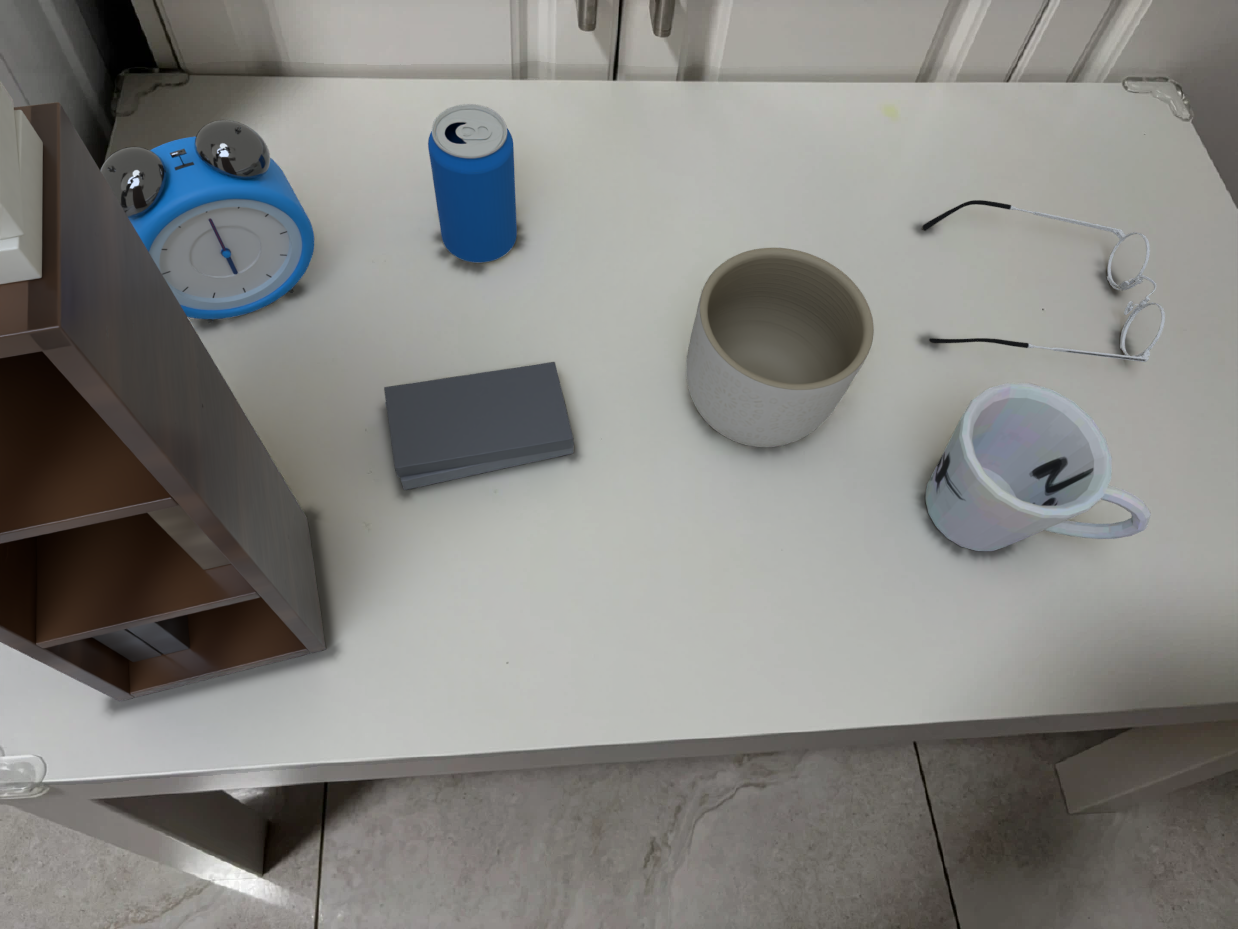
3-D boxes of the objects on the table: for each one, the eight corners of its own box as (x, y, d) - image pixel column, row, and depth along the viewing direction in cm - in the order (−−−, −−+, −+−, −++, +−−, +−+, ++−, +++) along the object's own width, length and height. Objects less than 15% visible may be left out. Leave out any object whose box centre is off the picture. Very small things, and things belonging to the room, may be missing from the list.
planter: (840, 360, 72) (887, 275, 62) (811, 485, 66) (857, 413, 57) (699, 317, 73) (723, 227, 63) (658, 437, 67) (678, 357, 58)
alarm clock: (174, 345, 68) (85, 207, 54) (150, 289, 70) (58, 144, 57) (333, 286, 71) (285, 144, 58) (305, 235, 74) (254, 87, 60)
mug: (926, 428, 70) (982, 358, 61) (1105, 505, 68) (1189, 444, 59) (889, 533, 65) (944, 474, 56) (1080, 620, 63) (1168, 572, 54)
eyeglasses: (1142, 388, 73) (1180, 354, 69) (928, 356, 73) (952, 320, 69) (1114, 247, 81) (1147, 208, 76) (920, 217, 81) (942, 177, 76)
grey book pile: (402, 495, 63) (396, 476, 61) (385, 408, 66) (378, 387, 64) (576, 456, 66) (578, 437, 63) (552, 375, 69) (552, 354, 66)
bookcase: (119, 701, 55) (-461, 414, 23) (114, 560, 59) (-381, 153, 27) (326, 650, 58) (60, 326, 26) (307, 518, 62) (59, 100, 30)
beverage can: (442, 212, 76) (426, 99, 66) (515, 211, 77) (511, 99, 66) (442, 269, 73) (425, 160, 63) (518, 268, 74) (514, 160, 63)
